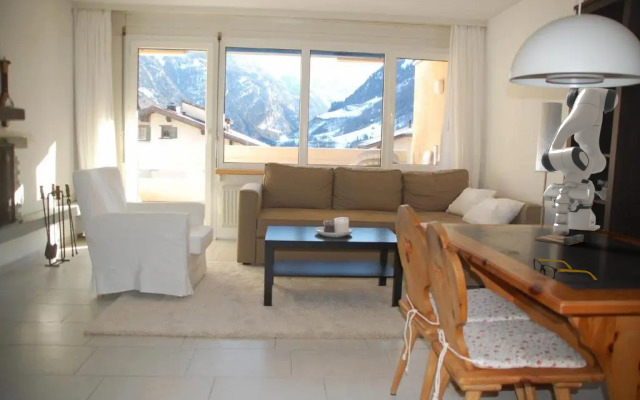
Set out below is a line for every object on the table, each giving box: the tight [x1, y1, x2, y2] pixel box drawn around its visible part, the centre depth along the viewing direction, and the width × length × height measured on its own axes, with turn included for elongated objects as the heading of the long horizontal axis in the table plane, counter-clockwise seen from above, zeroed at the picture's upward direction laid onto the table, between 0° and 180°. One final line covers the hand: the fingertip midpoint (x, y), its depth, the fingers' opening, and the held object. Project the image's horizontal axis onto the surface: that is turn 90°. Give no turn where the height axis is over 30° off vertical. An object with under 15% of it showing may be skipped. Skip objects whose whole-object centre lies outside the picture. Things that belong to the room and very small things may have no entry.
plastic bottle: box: [552, 189, 571, 236], centre depth 222 cm, size 6×7×20 cm
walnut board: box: [534, 233, 585, 246], centre depth 223 cm, size 16×14×3 cm
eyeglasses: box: [532, 258, 598, 281], centre depth 163 cm, size 14×14×4 cm
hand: (561, 208), depth 221 cm, fingers closed on plastic bottle, 6 cm apart
